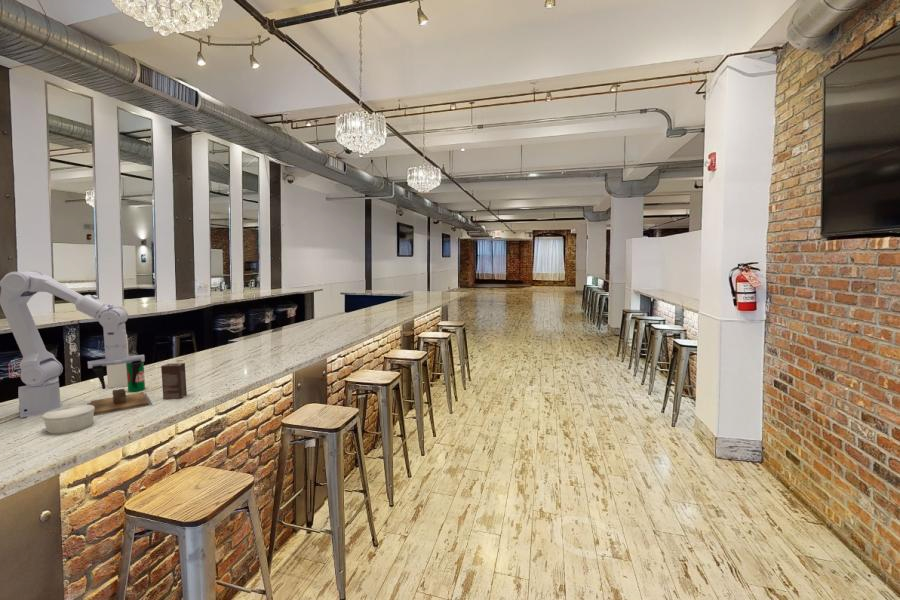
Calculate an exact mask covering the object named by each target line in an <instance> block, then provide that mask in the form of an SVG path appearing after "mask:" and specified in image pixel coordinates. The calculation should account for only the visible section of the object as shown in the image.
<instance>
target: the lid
mask: <svg viewBox="0 0 900 600" xmlns="http://www.w3.org/2000/svg"><path fill="white" fill-rule="evenodd" d="M144 394H145V393H144V392H143V391H142V392H135V393H130V394H126V390H125V388H121V389H120V388H119V389H113V390H112V397H105V398H101V399H94V400H90V403H91V405H93V406H94V407H95V411H94V415H96V414H102V413H107V412H113V411H118V410H124V409H129V408H135V407H140V406H145V405H149V402H148V400H147V399H146V397H145V395H144ZM140 408H141V407H140ZM135 409H136V408H135ZM129 410H130V409H129ZM124 411H125V410H124ZM113 413H114V412H113ZM102 415H103V414H102Z"/></svg>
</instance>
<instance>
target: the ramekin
mask: <svg viewBox="0 0 900 600" xmlns="http://www.w3.org/2000/svg"><path fill="white" fill-rule="evenodd" d="M94 411H95V407H94V406H93V405H87V404H76V405H75V404H74V405H70V406H64V407H63V408H58V409H55V410H51V411H49V412H47V413H43V415H42V420H43V421H44V425H45V429H46V431H47V432H48V433H49V434H65V433H67V434H68V433H72V432H76V431H79V430H83V429H86V428H88V427H89V426H91V425H92V424H93V422H94V417H95V416H94Z"/></svg>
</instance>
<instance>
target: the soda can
mask: <svg viewBox="0 0 900 600" xmlns="http://www.w3.org/2000/svg"><path fill="white" fill-rule="evenodd" d="M144 362H145V361H142V362H141V366H140V368H139V370H138V373H137V376H136V380H135V384H133V385H132V372H131V363H126V369H127V384H128V386H127V391H128V392H129V393H139V392H141V391H142V392H143V391H145V389H146V382H145V380H146V379H145V366H144V365H145V363H144Z"/></svg>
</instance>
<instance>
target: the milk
mask: <svg viewBox="0 0 900 600" xmlns="http://www.w3.org/2000/svg"><path fill="white" fill-rule="evenodd" d="M126 339H127V353H128V356H130V355H129V343H128V341H129V340H128V334H127V333H126ZM124 362H125V361H124ZM106 376H107V387H108V389H111V388H110V387H116V388H121V387H122V388H124V387H123V386H125V387H128V384H127V369H126V363H124V364H116V365H108V366H106Z"/></svg>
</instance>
